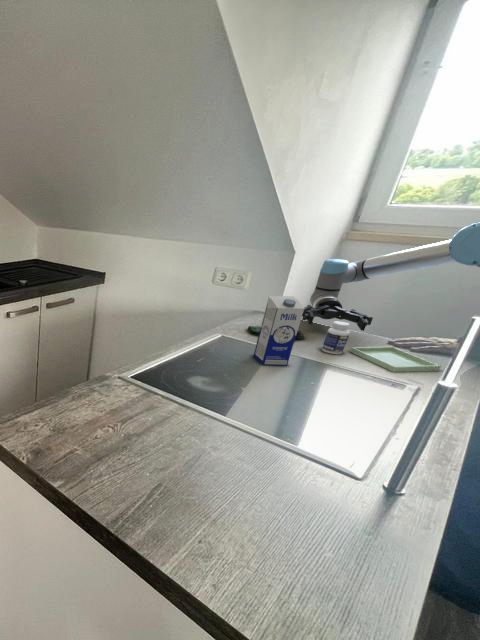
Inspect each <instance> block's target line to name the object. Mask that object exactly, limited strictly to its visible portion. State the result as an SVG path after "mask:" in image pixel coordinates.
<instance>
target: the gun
mask: <svg viewBox="0 0 480 640" xmlns="http://www.w3.org/2000/svg"><path fill="white" fill-rule="evenodd" d="M260 329H261V326H255V325H249V326H247V330H248V332H249V333H250V334H251V335H253V336H259V333H260ZM304 335H305V334H304V333H303V332H302V331H301V330H298V331H297V334H296V337H295V341H301V340H303V339H304V338H305V336H304Z"/></svg>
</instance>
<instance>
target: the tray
mask: <svg viewBox="0 0 480 640" xmlns="http://www.w3.org/2000/svg"><path fill="white" fill-rule="evenodd" d="M349 353H352V354H353V355H356V356H358V357H360V358H363V359H364V360H367V361H368V362H371V363H373V364H375V365H377V366H379V367H381V368H384V369H386V370H387V371H390V372H392V373H399V372H401V373H402V372H435V371H436V372H439V371H440V370H441V367H442V366H441V365H440V364H437V363H435V362H433V361H430V360H427V359H425V358H422V357H420V356H418V355H415V354H412V353H410V352H407V351H404V350H403V349H399V348H397V347H395V346H392V345H390V346H389V345H387V346H356V347H355V346H353V347H352V346H351V347H350V349H349Z"/></svg>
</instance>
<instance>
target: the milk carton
mask: <svg viewBox="0 0 480 640" xmlns="http://www.w3.org/2000/svg"><path fill="white" fill-rule="evenodd" d="M304 307H305V306H304V305H303V304H302V303H301V302H300V301H299V300H298V298H296V297H295V296H293V295H290V296H285V295H269V296H268V299H267V302H266V306H265V310H264V314H263V317H262V321H261V325H260V327H261V329H260V333H259V336H258V335H257V336H258V337H257V340H256V345H255V349H254V351H253V358H255V360H257V361H258V362H259V363H260V364H261V365H262V366H288V363H289V360H290V357H291V354H292V351H293V348H294V344H295V341H296V340H295V337H296V334H297V331H299V327H300V324H301V321H302V318H303V316H302V314H303V311H304V309H305V308H304Z"/></svg>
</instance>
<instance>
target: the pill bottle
mask: <svg viewBox="0 0 480 640" xmlns="http://www.w3.org/2000/svg"><path fill="white" fill-rule="evenodd" d="M349 328H350V323H349V322H345V321H340V320H336V321H333V323H332V327H330V328H328V329H327V332H326V334H325V337H324V340H323V343H322V347H321V350H322V351H323V352H325V353H327V354H331V355H342V354H343V352H344V350H345V347H346V344H347V341H348V339H349V337H350V331H349Z"/></svg>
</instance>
